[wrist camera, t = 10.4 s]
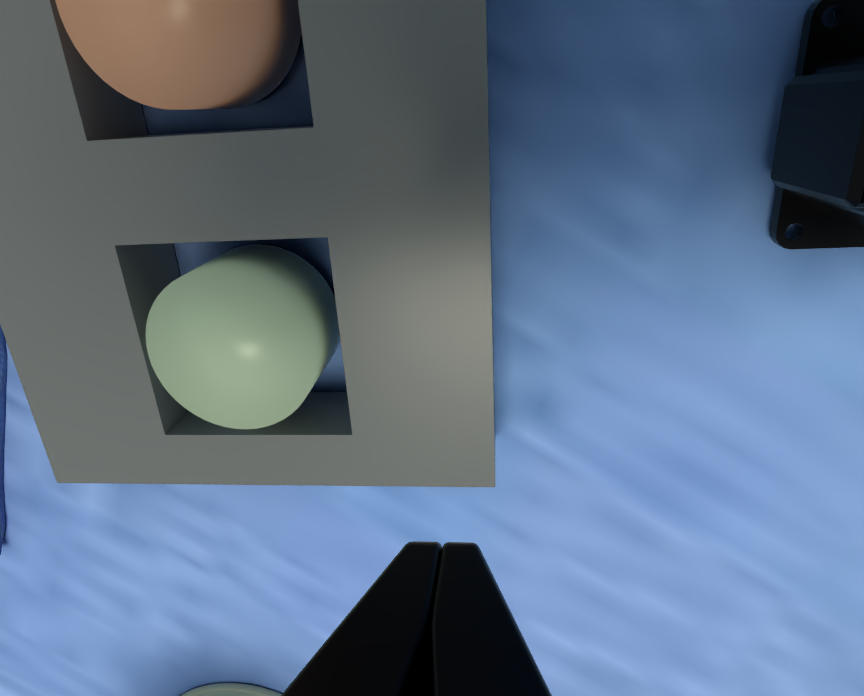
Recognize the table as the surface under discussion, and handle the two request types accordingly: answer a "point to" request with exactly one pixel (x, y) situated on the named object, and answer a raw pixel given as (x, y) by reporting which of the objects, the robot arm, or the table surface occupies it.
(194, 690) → the sage green canister
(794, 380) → the table surface
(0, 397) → the dish towel
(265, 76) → the terracotta button
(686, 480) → the table surface
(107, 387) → the button panel
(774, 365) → the table surface
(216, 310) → the sage button
